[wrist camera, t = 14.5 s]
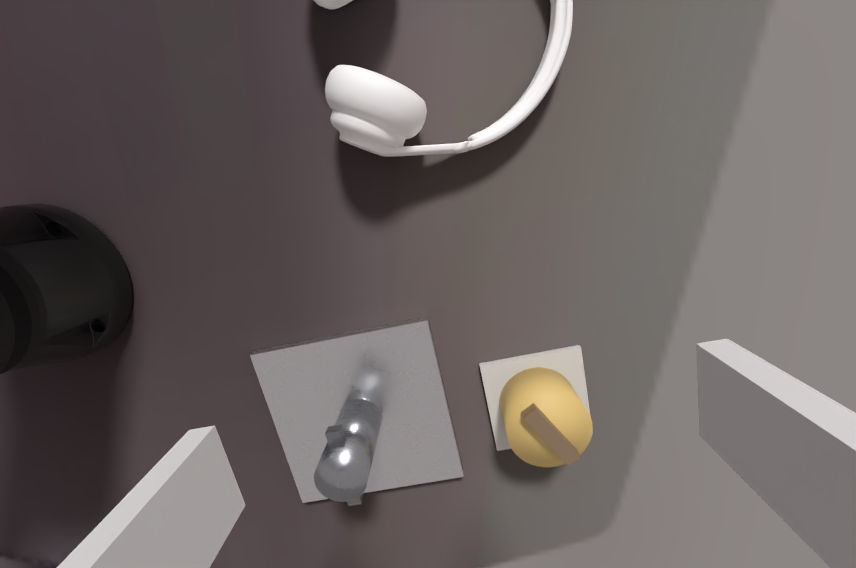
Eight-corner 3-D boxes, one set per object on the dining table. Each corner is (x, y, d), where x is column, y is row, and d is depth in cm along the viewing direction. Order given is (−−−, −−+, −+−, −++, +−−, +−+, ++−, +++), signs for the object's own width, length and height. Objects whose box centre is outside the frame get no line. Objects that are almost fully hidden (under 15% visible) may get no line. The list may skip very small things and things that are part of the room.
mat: (496, 447, 44) (497, 450, 44) (479, 363, 42) (479, 366, 41) (590, 431, 43) (592, 434, 43) (579, 344, 41) (580, 347, 40)
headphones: (348, 174, 37) (565, 135, 38) (335, 173, 29) (608, 123, 30) (292, -83, 32) (543, -124, 33) (259, -165, 24) (588, -218, 25)
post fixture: (306, 494, 47) (271, 579, 37) (255, 350, 42) (199, 403, 32) (463, 468, 45) (469, 549, 35) (427, 316, 40) (423, 361, 31)
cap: (483, 398, 42) (491, 434, 36) (543, 352, 41) (560, 382, 35) (530, 447, 43) (544, 489, 38) (590, 404, 42) (614, 442, 36)
